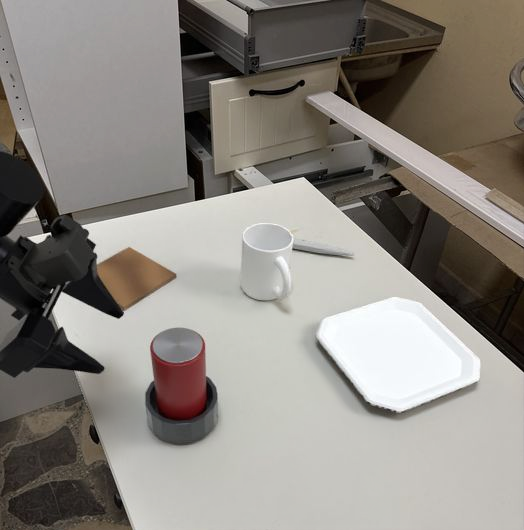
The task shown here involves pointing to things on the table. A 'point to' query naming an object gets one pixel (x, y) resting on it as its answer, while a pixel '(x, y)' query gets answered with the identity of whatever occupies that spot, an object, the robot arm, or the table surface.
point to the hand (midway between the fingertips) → (112, 342)
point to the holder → (184, 429)
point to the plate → (398, 353)
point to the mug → (266, 261)
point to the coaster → (132, 276)
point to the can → (179, 373)
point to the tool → (319, 248)
